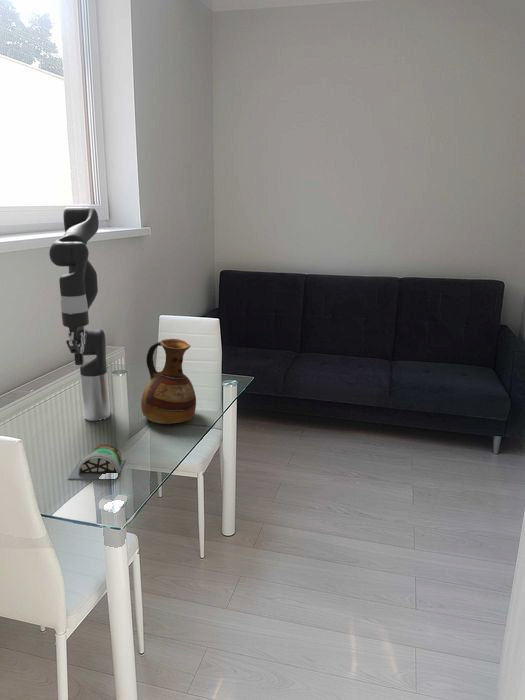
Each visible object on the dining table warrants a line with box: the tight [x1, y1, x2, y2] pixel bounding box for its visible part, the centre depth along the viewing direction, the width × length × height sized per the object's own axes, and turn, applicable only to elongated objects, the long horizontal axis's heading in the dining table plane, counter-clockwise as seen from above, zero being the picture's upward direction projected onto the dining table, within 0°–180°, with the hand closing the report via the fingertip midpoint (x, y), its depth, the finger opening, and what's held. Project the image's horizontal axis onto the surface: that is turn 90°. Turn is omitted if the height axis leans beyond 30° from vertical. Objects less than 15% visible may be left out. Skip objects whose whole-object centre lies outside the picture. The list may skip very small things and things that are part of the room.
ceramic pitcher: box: [140, 338, 197, 425], centre depth 190 cm, size 20×20×30 cm
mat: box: [68, 459, 126, 481], centre depth 158 cm, size 11×14×1 cm
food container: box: [79, 443, 123, 474], centre depth 159 cm, size 12×6×10 cm
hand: (79, 364), depth 163 cm, fingers closed
